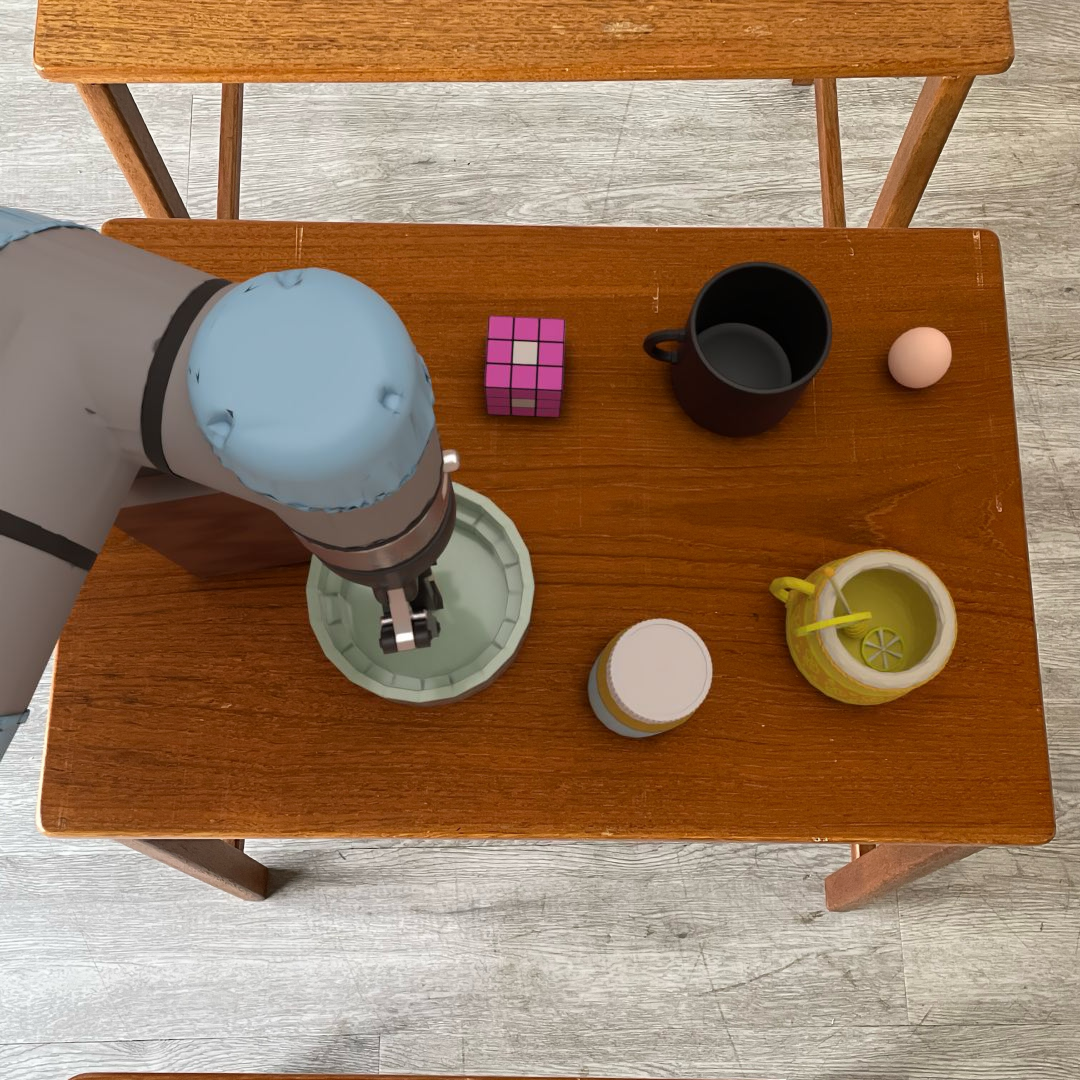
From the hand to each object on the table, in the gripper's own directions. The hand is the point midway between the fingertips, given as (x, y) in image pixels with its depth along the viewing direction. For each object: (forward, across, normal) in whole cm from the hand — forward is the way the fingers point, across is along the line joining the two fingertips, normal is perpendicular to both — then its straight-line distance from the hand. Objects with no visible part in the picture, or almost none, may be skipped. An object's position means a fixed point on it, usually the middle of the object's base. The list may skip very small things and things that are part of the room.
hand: (419, 584), depth 70 cm
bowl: (+7, 0, 0) cm, 7 cm away
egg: (+7, +12, -40) cm, 42 cm away
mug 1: (+7, +14, -25) cm, 29 cm away
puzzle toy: (+7, +16, -10) cm, 20 cm away
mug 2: (+7, -7, -30) cm, 32 cm away
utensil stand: (+7, +9, +12) cm, 17 cm away
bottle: (+7, -9, -14) cm, 18 cm away
